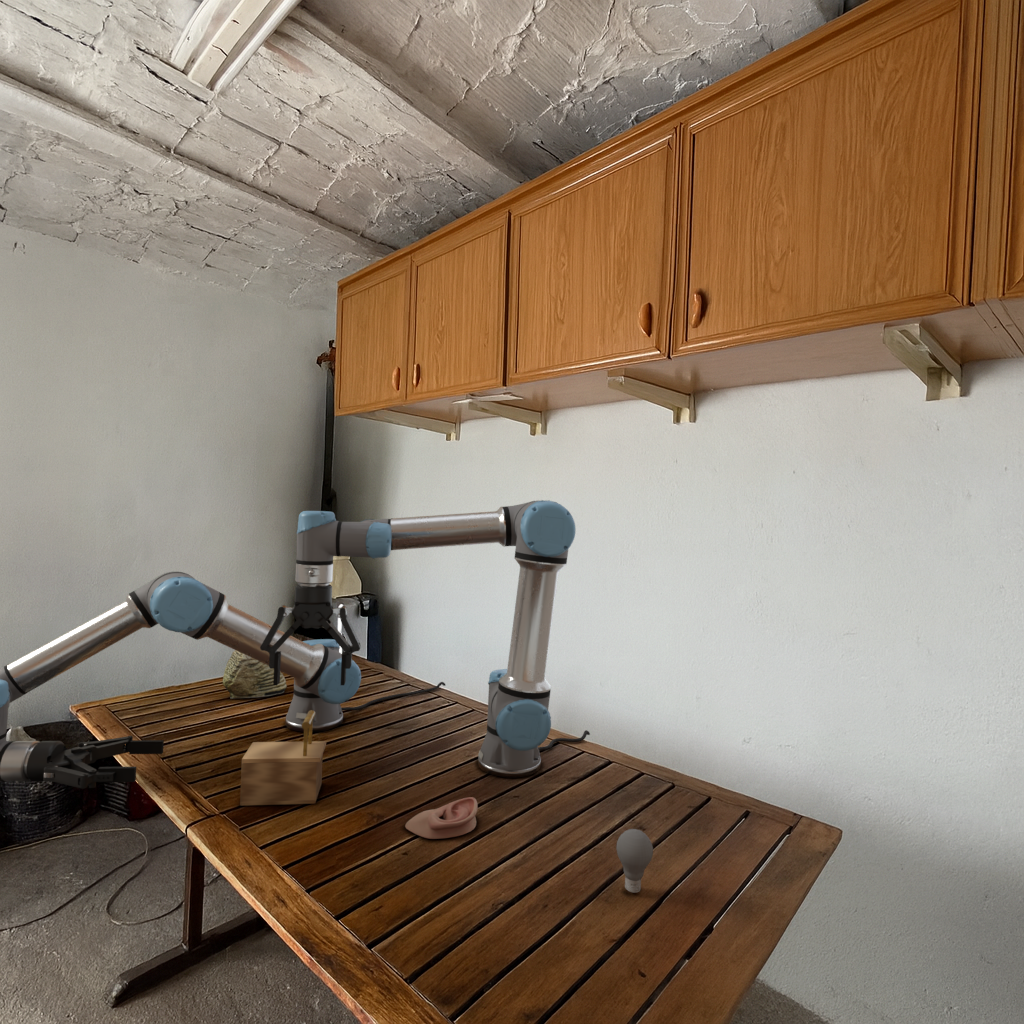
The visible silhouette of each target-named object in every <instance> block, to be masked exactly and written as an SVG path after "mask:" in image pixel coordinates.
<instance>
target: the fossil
mask: <svg viewBox="0 0 1024 1024" xmlns="http://www.w3.org/2000/svg"><path fill="white" fill-rule="evenodd" d="M222 676H223V677H222V685H223V687H224V688H225V690H226V691H228V693H229V698H230V699H250V698H264V697H271V696H275V695H281V694H284V693H285V691H286V689H287V687H288V686H287V680H286V678H285V676H284V674H283V672H281V671H280V682H279V684H278V685H273V684H274V668H270V667H269V666H268V665H266V664H264V663H262V662H260V661H258V660H256V659H253V658H251V657H249V656H247V655H245V654H243V653H241V652H238V651H236V650H233V651H232V653H231V656H230V657H229V659H228V660H227V663H226V666H225V668H224V671H223V675H222Z"/></svg>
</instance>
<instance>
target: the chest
mask: <svg viewBox="0 0 1024 1024" xmlns="http://www.w3.org/2000/svg"><path fill="white" fill-rule="evenodd" d="M323 757H324V754H323V755H322V758H321V761H320V762H285V763H242V762H241V769H240V772H241V773H240V793H239V795H240V798H239V799H240V800H239V806H242V807H243V806H278V805H281V806H282V805H309V804H310V805H311V804H313V805H314V804H316V802H317V799H318V796H319V792H320V790H321V787H322V785H323V784H322V783H323V782H322V780H323Z"/></svg>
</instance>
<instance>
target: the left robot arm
mask: <svg viewBox="0 0 1024 1024" xmlns="http://www.w3.org/2000/svg"><path fill="white" fill-rule="evenodd" d="M158 625H159V626H160V627H162V628H163V629H165V630H167V631H170V632H175V633H181V634H183V635H185V636H187V637H190V638H192V639H194V640H197V641H198V640H201V639H204V638H209V639H211V640H213V641H215V642H216V643H217V642H218V643H219V644H222V645H224V646H226V647H228V648H230V649H232V650H233V651H235V650H236V651H238V652H241V653H243V654H245V655H247V656H249V657H251V658H253V659H256V660H258V661H260V662H262V663H264V664H266V665H268V666H269V653H268V652H267V651H262V650H261V649H260V646H261V645H262V643H263V641H264V639H265V638H266V636H267V634H268V632H269V631H270V629H271V627H272V625H271V624H269V623H266V622H265V621H263V620H261V619H259V618H257V617H255V616H252V615H251V614H249V613H247V612H245V611H243V610H241V609H239V608H237V607H235V606H233V605H231V604H230V603H228V599H227V596H226V594H224V593H222V592H220V591H218V590H217V589H214V588H213V587H211V586H208V585H207V584H205V583H203V582H201V581H199V580H198V579H196V578H195V577H194V576H192V575H190V574H189V573H187V572H184V571H168V572H164V573H162V574H160V575H158V576H156V577H155V578H153V579H151V580H150V581H148V582H146V583H144V584H143V585H141V586H140V587H138V588H136V589H134V590H133V591H131V592H129V593H127V594H126V596H125V599H124V601H122V602H120V603H118V604H116V605H114V606H112V607H110V608H109V609H107V610H105V611H103V612H101V613H100V614H98V615H96V616H94V617H92V618H89V620H87V621H85V622H82V623H81V624H79V625H77V626H75V627H74V628H72V629H70V630H68V631H66V632H65V633H64V632H63V634H61V635H59V636H57V637H55V638H54V639H52V640H50V641H48V642H46V643H44V644H42V645H41V646H38V647H36V648H35V649H33V650H31V651H29V652H28V653H26V654H23V655H22V656H20V657H18V658H16V659H15V660H13V661H11V662H9V663H7V664H5V665H4V666H2V667H0V782H3V783H5V782H15V783H16V784H21V783H22V782H29V781H31V782H48V783H57V784H61V785H65V786H69V787H73V788H77V789H81V790H82V789H83V790H85V789H86V788H88V789H94V788H96V787H97V783H134V782H136V781H137V766H99V767H98V768H95V767H92V766H91V764H94V763H96V761H97V760H103V759H106V758H110V757H115V756H120V755H124V754H127V753H128V755H162V754H164V745H165V743H164V742H165V740H164V739H153V740H151V739H150V740H149V739H147V740H146V739H143V740H142V739H139V740H138V739H135V740H134V739H133V738H134V736H133V735H127V736H121V737H115V738H114V737H113V738H108V739H107V738H106V739H102V740H101V739H100V740H93V741H81V742H78V743H77V746H76V747H72V748H69V749H68V748H67V747H66V745H65V744H64V743H63V742H62V741H61V740H42V741H40V740H7V738H8V737H7V736H8V720H9V719H8V718H9V708H10V704H11V703H13V702H14V701H16V700H18V699H19V698H21V697H23V696H25V695H26V694H28V693H30V692H31V691H33V690H35V689H37V688H39V687H40V686H43V685H44V684H45V683H47V682H50V681H51V680H52V679H54V678H57V677H58V676H60V675H62V674H63V673H65V672H67V671H68V670H70V669H72V668H74V667H76V666H77V665H79V664H81V663H82V662H84V661H86V660H88V659H91V658H92V657H93V656H95V655H97V654H98V653H100V652H102V651H104V650H105V649H108V648H109V647H111V646H113V645H114V644H116V643H118V642H120V641H122V640H124V639H125V638H127V637H129V636H131V635H132V634H134V633H135V632H138V631H139V630H141V629H151V628H153V627H155V626H158ZM285 632H286V631H285ZM285 632H284V631H282V630H280V629H278V630H277V632H276V634H275V636H274V637H273V639H272V641H271V643H270V644H271V645H274V644H275V643H276V642H277V641H278V640H279V639H280V638H281V637H282V636H283V634H284V633H285ZM340 648H341V647H340V645H339V644H338V643H337V642H336V641H335V639H334V638H323V639H322V638H320V639H307V640H303V641H302V640H300V639H299V638H296V637H294V636H293V635H290V637H289V638H288V639H287V640H286V641H285V642H284V643H283V644H282V645H281V646H280V647H279V648H278V649H277V651H281V666H280V672H281V673H282V674H285V675H287V676H290V677H292V678H293V695H292V696H293V697H292V699H291V702H290V704H289V708H288V711H287V713H286V715H285V726H286V728H287V729H289V730H291V731H294V732H295V731H296V732H301V733H304V729H303V728H302V724H303V722H304V720H305V718H306V716H307V714H308V712H309V711H310V710H313V711H315V717H314V719H313V728H312V733H316V732H325V731H329V730H332V729H335V728H337V727H339V726H340V725H342V723H343V722H344V713H343V711H344V712H345V711H358V710H362V709H364V708H366V707H368V706H370V705H372V704H376V703H378V702H382V701H385V700H389V699H395V698H400V697H406V696H413V695H419V694H423V693H429V692H432V691H437V689H439V688H440V687H441V686H445V687H446V683H445V682H444V681H440V682H439V683H438V684H437V685H435V686H433V687H430V688H425V689H421V690H415V691H410V692H403V693H402V692H401V693H396V694H392V695H387V696H382V697H379V698H375V699H372V700H369V701H368V702H366V703H364V704H361V705H358V706H344V707H343V706H341V704H343V703H345V702H347V701H349V700H351V699H352V698H353V697H354V696H355V695H356V694H357V692H358V690H359V688H360V686H361V682H362V672H361V668H360V667H359V665H358V664H357V663H356V662H355V660H353V659H352V665H351V667H350V669H346V682H345V685H341V662H342V653H341V652H340ZM308 733H309V729H308Z"/></svg>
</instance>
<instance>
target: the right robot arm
mask: <svg viewBox="0 0 1024 1024" xmlns="http://www.w3.org/2000/svg"><path fill="white" fill-rule="evenodd" d="M297 521H298V522H297V530H296V558H295V559H296V561H295V580H294V581H295V582H296V583H297V584H296V585H295V586H294V604H293V607H291V606H287V605H285V604H281V606H279V607H278V609H277V613H276V618H275V620H274V621H273V623H272V625H271V626H272V627H271V629H270V631H269V632H268V634H267V636H266V638H265V639H264V641H263V643H262V645H261V646H260V649H261V650H262V651H267V652H268V653H269V667H270V668H274V684H273V685H278V684H279V682H280V672H281V671H280V666H281V651H277V649H278V648H279V647H280V646H281V645H282V644H283V643H284V642H285V641H286V640H287V639H288V638H289V637H290V636H292V635H293V634H294V633H295V631H297V629H299V627H302V628H303V629H311V628H312V629H320V628H323V629H324V630H325V631H327V633H328V634H329V635H330V636H331V637H332V639H334V640H335V641H336V642H337V643H338V644H339V647H340V648H341V649H342V650H343V651H342V653H341V654H342V662H341V685H345V682H346V669H350V667H351V665H352V660H353V653H355V652H359V651H360V650H361V647H362V644H361V642H360V640H359V637H358V635H357V634H356V632H355V629H354V627H353V625H352V623H351V621H350V619H349V617H348V609H347V606H345V605H342V606H340V607H333V585H332V582H333V579H334V557H339V558H340V557H349V558H350V557H351V558H370V559H374V560H375V559H379V558H381V559H382V558H384V559H385V558H388V557H389V556H390V555H391V553H392V552H391V551H401V550H403V551H404V550H415V549H429V548H430V549H431V548H443V547H445V548H446V547H457V546H459V547H461V546H471V545H487V544H499V545H501V546H502V547H504V548H505V547H515V550H514V552H515V553H514V560H515V561H516V563H517V564H518V565H519V574H518V581H517V588H516V598H515V605H514V612H513V621H512V627H511V628H512V629H511V635H510V636H511V638H510V645H509V652H508V661H507V667H506V668H501V669H495V670H492V671H491V672H490V674H489V678H488V681H487V684H488V696H487V697H488V699H487V718H486V721H487V722H486V733H485V736H484V739H483V741H482V744H481V747H480V749H479V751H478V754H477V756H478V757H477V765H478V767H479V768H480V769H481V770H482V771H483V772H485V773H487V774H489V775H491V776H496V777H500V778H512V779H513V778H514V779H515V778H524V777H528V776H531V775H534V774H535V773H538V771H539V770H540V769H541V765H542V763H541V762H542V757H541V753H540V752H543V751H548V750H550V749H551V748H552V747H553V746H554V744H555V743H561V742H563V743H564V742H565V743H580V742H582V741H584V740H585V739H586V737H587V736H590V735H591V733H590V731H589V730H588V729H586V730H584V731H583V734H582V736H580V737H578V738H570V737H569V738H568V737H557V738H553V739H552V740H551V741H550V742H549V744H548V745H545V746H541V745H542V744H543V743H544V742H545V741H546V740H547V738H548V737H549V735H550V732H551V729H552V716H551V713H550V711H549V706H550V698H551V690H552V685H551V684H550V683H549V681H548V680H547V679H546V675H547V665H548V658H549V651H550V644H551V635H552V626H553V619H554V611H555V604H556V603H555V602H556V595H557V587H558V580H559V572H560V571H561V570H563V568H565V567H566V566H567V563H568V555H569V550H570V547H571V546H572V544H573V543H574V540H575V537H576V532H577V531H576V523H575V519H574V517H573V516H572V513H571V512H570V511H569V510H568V509H567V508H566V507H565V506H563V505H562V504H561V503H558V502H556V501H553V500H550V499H549V500H543V499H541V500H532V501H528V502H523V503H520V504H515V505H507V506H506V505H505V506H500V507H498V508H497V510H494V511H482V512H480V511H479V512H468V513H467V512H466V513H451V514H437V515H423V516H421V515H419V516H409V517H408V516H406V517H393V518H378V519H375V518H367V519H363V520H361V521H341V520H337V519H336V514H335V513H334V512H333V511H326V510H303V511H301V512H300V513H299V514H298V520H297ZM290 614H291V615H292V616H293V617H294V619H295V621H294V623H292V625H291V626H290V627H289V628H288V629H287V630H286V631H285V633H284V634H283V636H282V637H281V638H280V639H279V640H278V641H277V642H276V643H275V644H274V645H271V644H270V643H271V641H272V639H273V637H274V636H275V634H276V632H277V630H278V629H279V628H280V627H281V625H282V623H283V622H284V619H285V618H287V617H288V616H289V615H290ZM333 615H335V616H336V618H338V619H340V622H341V625H342V626H343V629H344V631H345V633H346V635H347V637H348V640H349V641H350V643H351V644H350V643H349V642H348V641H347V640H346V639H347V638H345V637H344V636H343V635H342V633H341V632H340V631H339V630H338V629H337V627H336V626H335V625H334V623H333V622H332V620H331V617H332V616H333ZM279 630H280V629H279Z"/></svg>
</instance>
